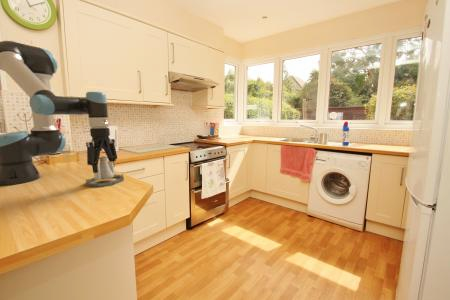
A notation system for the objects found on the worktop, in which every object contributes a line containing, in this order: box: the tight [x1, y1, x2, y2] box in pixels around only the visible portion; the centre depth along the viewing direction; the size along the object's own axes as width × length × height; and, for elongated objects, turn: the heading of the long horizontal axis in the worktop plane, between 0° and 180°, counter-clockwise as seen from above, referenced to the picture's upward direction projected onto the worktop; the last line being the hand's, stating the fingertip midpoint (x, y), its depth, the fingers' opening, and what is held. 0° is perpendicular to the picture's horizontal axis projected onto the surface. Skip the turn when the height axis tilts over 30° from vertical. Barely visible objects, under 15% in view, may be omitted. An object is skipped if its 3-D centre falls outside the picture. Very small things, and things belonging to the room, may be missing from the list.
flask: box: [99, 156, 114, 181], centre depth 98 cm, size 7×7×10 cm
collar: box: [85, 173, 125, 188], centre depth 98 cm, size 15×15×2 cm
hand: (105, 176), depth 98 cm, fingers closed on flask, 7 cm apart
